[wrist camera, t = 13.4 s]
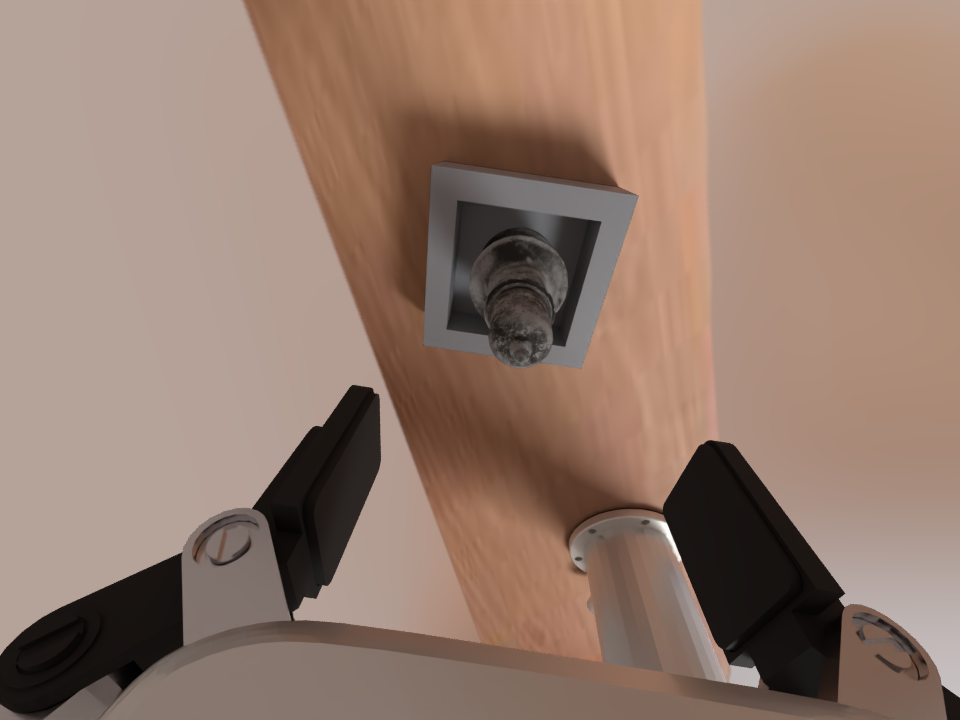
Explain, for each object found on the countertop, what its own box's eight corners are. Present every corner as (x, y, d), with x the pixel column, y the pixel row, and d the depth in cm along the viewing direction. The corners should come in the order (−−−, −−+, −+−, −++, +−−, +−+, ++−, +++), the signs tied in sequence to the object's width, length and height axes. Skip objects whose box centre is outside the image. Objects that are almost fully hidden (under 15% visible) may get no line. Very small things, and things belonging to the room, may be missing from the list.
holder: (572, 340, 28) (581, 368, 25) (433, 320, 28) (423, 345, 25) (619, 187, 22) (638, 195, 19) (443, 161, 22) (431, 165, 19)
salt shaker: (515, 323, 26) (518, 438, 16) (456, 268, 25) (418, 359, 14) (579, 268, 24) (630, 362, 14) (518, 201, 22) (525, 255, 12)
